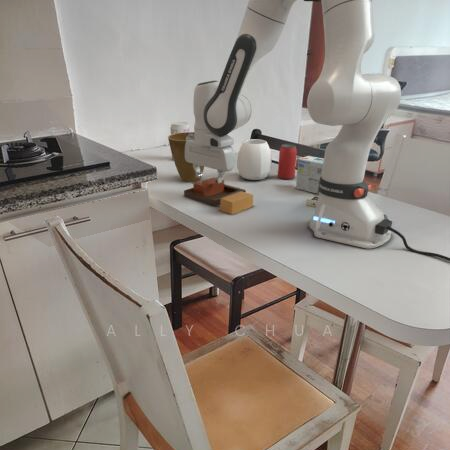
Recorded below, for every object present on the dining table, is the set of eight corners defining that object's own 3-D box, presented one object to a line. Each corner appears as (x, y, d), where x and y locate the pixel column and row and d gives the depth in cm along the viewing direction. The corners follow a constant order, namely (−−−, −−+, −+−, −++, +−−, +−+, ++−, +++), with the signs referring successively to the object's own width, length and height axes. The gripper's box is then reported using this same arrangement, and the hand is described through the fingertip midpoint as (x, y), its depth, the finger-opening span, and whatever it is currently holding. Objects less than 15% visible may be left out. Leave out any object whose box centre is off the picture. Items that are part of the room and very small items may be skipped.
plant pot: (190, 172, 167) (188, 130, 158) (217, 179, 159) (217, 135, 150) (162, 180, 157) (159, 136, 149) (190, 188, 149) (188, 142, 141)
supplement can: (174, 156, 188) (172, 121, 180) (192, 157, 188) (191, 122, 179) (170, 161, 182) (168, 124, 174) (188, 161, 181) (187, 125, 173)
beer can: (293, 180, 158) (297, 147, 151) (276, 179, 159) (279, 147, 152) (294, 175, 163) (297, 144, 157) (278, 174, 164) (280, 143, 158)
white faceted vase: (262, 171, 168) (264, 137, 160) (276, 180, 157) (278, 144, 150) (232, 174, 164) (232, 139, 157) (243, 184, 154) (245, 146, 146)
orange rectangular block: (252, 206, 133) (253, 194, 131) (232, 214, 127) (232, 202, 125) (241, 202, 136) (241, 191, 134) (220, 210, 130) (220, 198, 128)
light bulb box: (330, 190, 147) (334, 159, 141) (320, 195, 143) (324, 163, 137) (305, 184, 153) (308, 154, 148) (294, 188, 149) (297, 158, 143)
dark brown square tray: (245, 195, 142) (245, 189, 141) (215, 206, 133) (215, 200, 132) (214, 186, 151) (214, 181, 150) (184, 196, 141) (183, 190, 140)
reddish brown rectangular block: (223, 191, 145) (224, 180, 142) (203, 198, 138) (203, 186, 136) (213, 188, 147) (213, 177, 145) (193, 194, 141) (193, 183, 139)
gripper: (179, 134, 137) (181, 175, 145) (224, 143, 125) (223, 188, 133) (193, 131, 141) (194, 172, 148) (237, 140, 129) (236, 183, 137)
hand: (208, 179), depth 141 cm, fingers open, 8 cm apart
